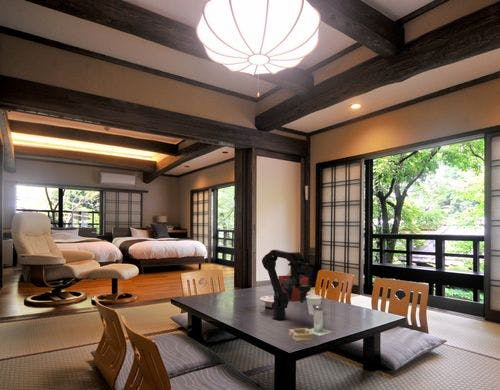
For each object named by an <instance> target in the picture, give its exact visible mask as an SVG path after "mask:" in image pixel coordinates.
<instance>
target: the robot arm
mask: <svg viewBox="0 0 500 390" xmlns="http://www.w3.org/2000/svg"><path fill="white" fill-rule="evenodd" d="M278 258H280V259H285V260H287V262H289V263H287V266H289V267H290V275H291V276H289V279H287V280H285V281H284V282H282V284H281V285H280V282H279V278H278V276H279V275H278V274H277V271H276V266H277V260H278ZM261 264H262V266H263V268H264V269H265V270H266V271H267V273H268V277H269V280H270V283H271V285H272V289H273V292H274V294H273V302H272V303H271V305H270V306H271V309H272V310H273V317H272V320H276V321H283V320H286V319H287V314H286V313H287V311H286V309H287V308H288V306H289V303H290V301H289V300H291V298H292V292H293V288H298V289H299V291H298V292H299V293H300V301H299V302H300V304H303V302H304V301H305V299H306V296H307V294H308V293H309V292H310V291H311V289H312V287H311V285H309V284H308V285H302V283H301V279H300V278H302V276H304V277H310V276H311V275H312V270H313V269H312V268H311V266H310V263H306V261H305V259H304V257H303V255H302V253H301V252H300V251H295V252H293V251H291V252H289V251H284V250H279V249H272V250H270V251H269V252H268V253H267V254H265V255H264V256H263V257H262V259H261ZM300 275H302V276H300ZM281 287H284V288H283V289H285V290H286V292H287V293H286V292H285V293H284V292H283V291H282V289H281ZM287 294H288V296H287ZM288 297H289V298H288ZM304 298H305V299H304ZM288 299H289V300H288Z"/></svg>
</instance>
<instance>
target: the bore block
mask: <svg viewBox="0 0 500 390" xmlns="http://www.w3.org/2000/svg"><path fill="white" fill-rule="evenodd" d="M309 329H310V328H307V327H301V328H290V329H288V335H289V336H290V337H291V338H292V339H293V340H294V341H295V342H301V341H313V340H316V337H315V336H316V335H315V334H314V333H312V332H311V331H310V330H309Z"/></svg>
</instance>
